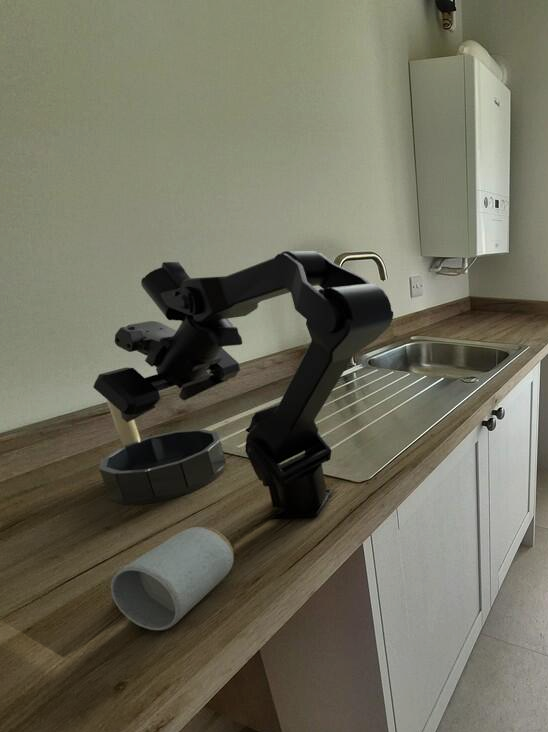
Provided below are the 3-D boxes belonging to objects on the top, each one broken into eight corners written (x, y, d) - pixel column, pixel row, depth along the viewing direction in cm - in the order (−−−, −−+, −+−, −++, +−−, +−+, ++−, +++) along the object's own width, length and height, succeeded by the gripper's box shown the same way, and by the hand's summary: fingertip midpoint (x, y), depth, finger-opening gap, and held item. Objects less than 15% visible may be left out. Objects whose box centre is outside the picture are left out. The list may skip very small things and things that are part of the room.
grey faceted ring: (246, 464, 71) (229, 395, 67) (149, 513, 58) (121, 431, 54) (182, 449, 77) (162, 384, 73) (81, 490, 64) (50, 414, 60)
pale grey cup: (246, 574, 49) (230, 519, 46) (186, 635, 41) (164, 574, 39) (168, 567, 50) (149, 514, 48) (95, 625, 42) (68, 565, 40)
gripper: (209, 297, 68) (171, 358, 74) (79, 314, 51) (42, 392, 56) (260, 344, 70) (219, 401, 75) (150, 377, 52) (107, 448, 57)
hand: (155, 408), depth 66 cm, fingers open, 9 cm apart
